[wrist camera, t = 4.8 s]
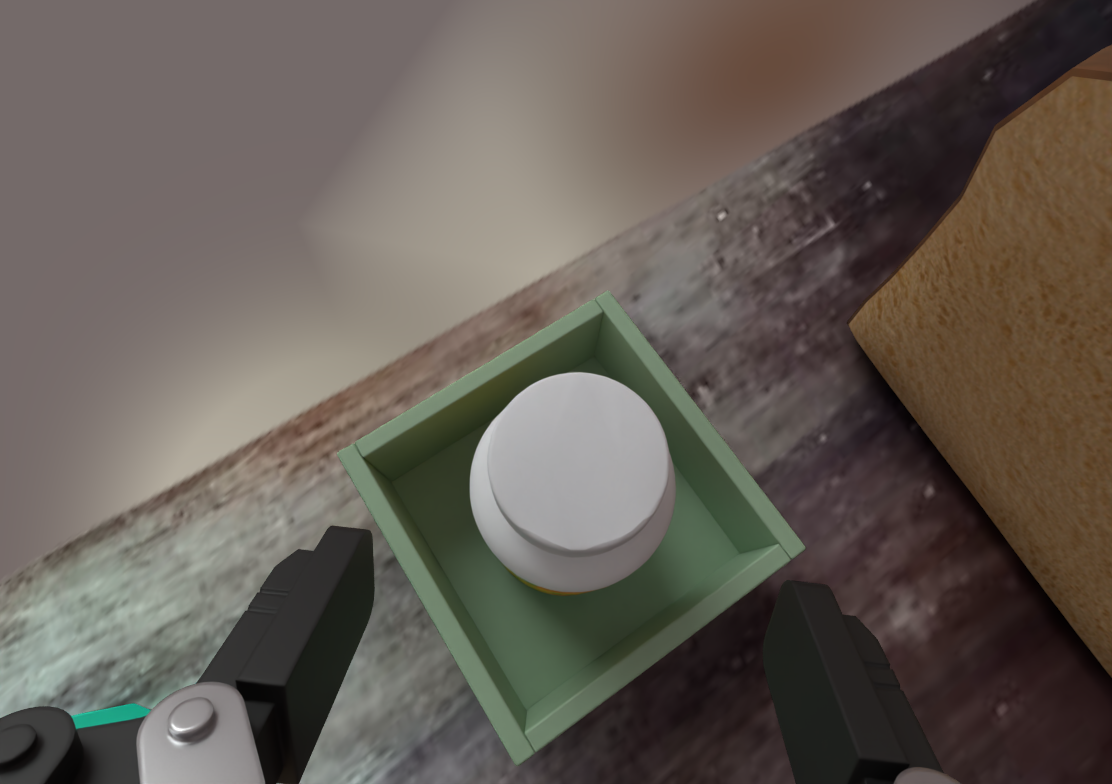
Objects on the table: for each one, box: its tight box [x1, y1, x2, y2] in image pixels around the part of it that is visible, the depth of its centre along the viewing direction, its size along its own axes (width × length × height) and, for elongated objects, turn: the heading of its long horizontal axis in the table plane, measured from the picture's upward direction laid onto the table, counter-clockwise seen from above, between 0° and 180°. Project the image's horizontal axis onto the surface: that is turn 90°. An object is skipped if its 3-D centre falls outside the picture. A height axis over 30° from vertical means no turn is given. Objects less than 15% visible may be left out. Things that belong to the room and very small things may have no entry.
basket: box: [337, 291, 806, 766], centre depth 21 cm, size 10×10×4 cm
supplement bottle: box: [470, 372, 676, 596], centre depth 18 cm, size 5×5×10 cm
